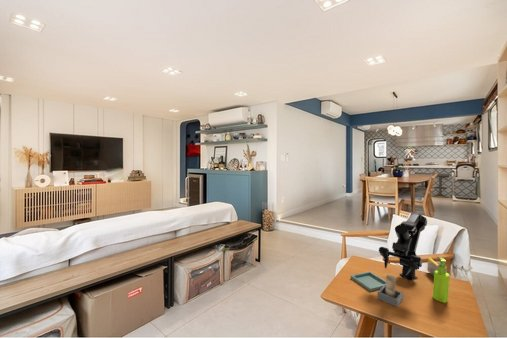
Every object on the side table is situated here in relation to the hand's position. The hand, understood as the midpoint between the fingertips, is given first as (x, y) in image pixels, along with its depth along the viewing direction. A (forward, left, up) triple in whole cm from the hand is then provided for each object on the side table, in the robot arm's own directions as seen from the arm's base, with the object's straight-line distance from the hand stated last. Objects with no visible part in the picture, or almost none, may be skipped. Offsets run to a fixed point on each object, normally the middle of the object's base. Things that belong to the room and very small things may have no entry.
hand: (395, 271), depth 120 cm
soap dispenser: (-19, +10, -13) cm, 25 cm away
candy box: (-38, -4, -13) cm, 41 cm away
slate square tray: (+6, +3, -12) cm, 14 cm away
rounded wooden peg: (+6, +3, -12) cm, 13 cm away
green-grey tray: (+3, -12, -12) cm, 18 cm away
